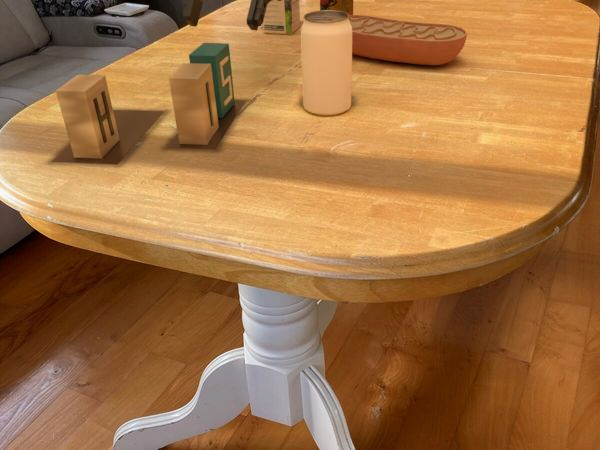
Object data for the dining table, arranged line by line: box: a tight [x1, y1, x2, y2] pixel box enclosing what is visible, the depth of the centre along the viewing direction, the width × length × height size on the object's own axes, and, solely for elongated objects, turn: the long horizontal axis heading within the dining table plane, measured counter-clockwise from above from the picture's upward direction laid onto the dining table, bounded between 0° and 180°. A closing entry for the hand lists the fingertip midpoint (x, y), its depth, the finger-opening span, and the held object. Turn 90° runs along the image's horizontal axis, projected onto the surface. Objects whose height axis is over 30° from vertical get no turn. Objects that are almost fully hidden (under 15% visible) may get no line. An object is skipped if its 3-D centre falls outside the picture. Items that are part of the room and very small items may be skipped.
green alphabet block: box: [188, 42, 236, 118], centre depth 74 cm, size 4×5×8 cm
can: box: [300, 10, 353, 117], centre depth 75 cm, size 6×6×12 cm
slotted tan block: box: [166, 62, 247, 151], centre depth 71 cm, size 6×15×9 cm, turn 171°
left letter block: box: [51, 74, 165, 166], centre depth 69 cm, size 8×15×9 cm, turn 171°
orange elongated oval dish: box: [348, 14, 468, 67], centre depth 93 cm, size 23×10×5 cm, turn 59°
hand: (220, 25), depth 73 cm, fingers open, 8 cm apart
